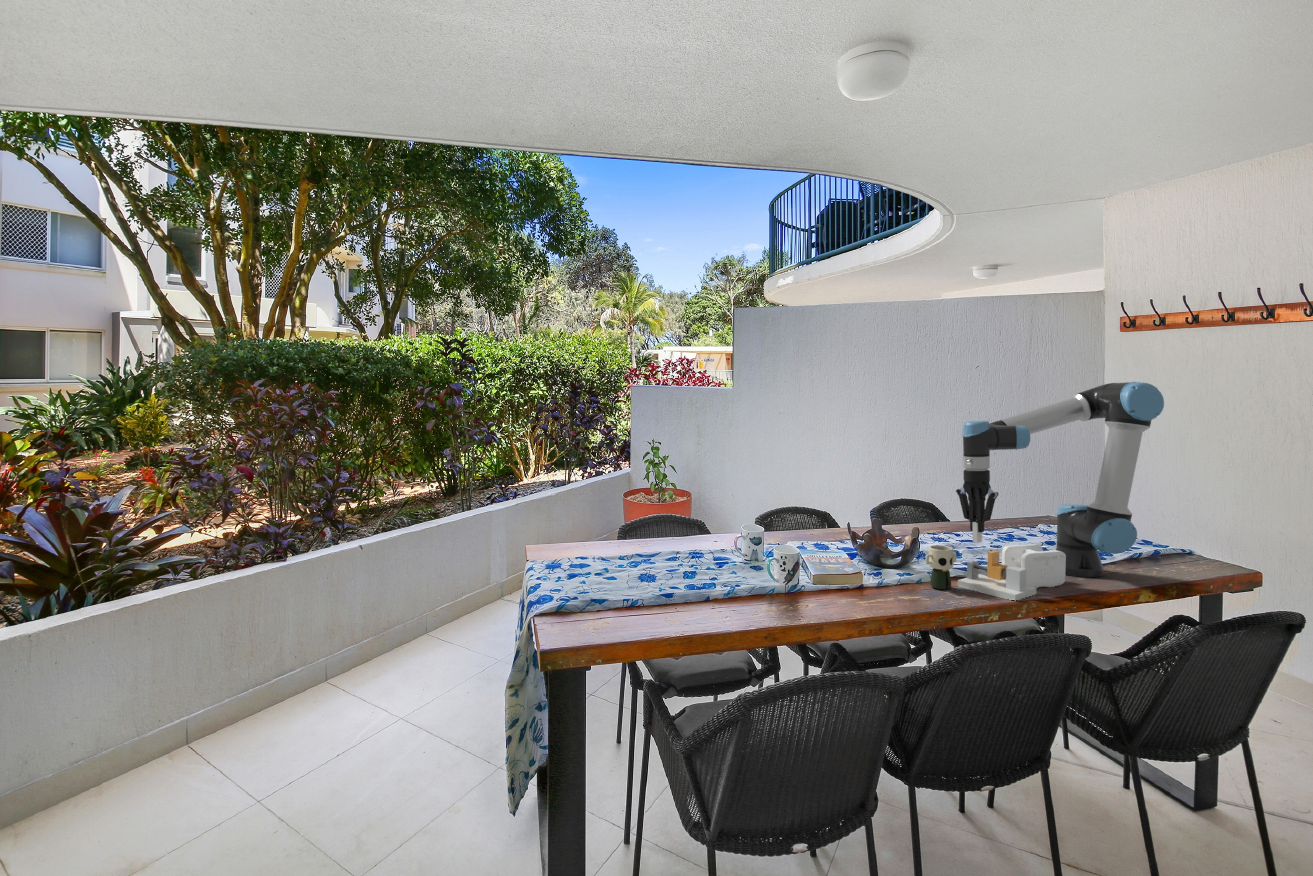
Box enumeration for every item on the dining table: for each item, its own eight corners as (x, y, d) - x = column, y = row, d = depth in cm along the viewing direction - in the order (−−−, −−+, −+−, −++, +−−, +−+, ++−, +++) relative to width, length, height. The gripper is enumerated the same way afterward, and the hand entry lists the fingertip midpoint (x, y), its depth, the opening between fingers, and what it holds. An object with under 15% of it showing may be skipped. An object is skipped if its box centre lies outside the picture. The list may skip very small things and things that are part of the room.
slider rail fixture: (979, 580, 205) (979, 555, 205) (1036, 594, 190) (1037, 567, 189) (957, 586, 199) (958, 561, 198) (1015, 601, 184) (1015, 574, 183)
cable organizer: (1040, 577, 207) (1041, 543, 206) (1066, 587, 196) (1067, 551, 196) (1000, 580, 204) (1001, 546, 203) (1025, 590, 194) (1026, 553, 193)
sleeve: (994, 575, 197) (994, 550, 196) (1007, 578, 193) (1007, 552, 193) (987, 577, 195) (987, 552, 194) (1000, 580, 191) (1000, 554, 191)
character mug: (933, 592, 193) (933, 551, 192) (918, 586, 200) (918, 546, 199) (963, 589, 195) (963, 549, 194) (947, 583, 202) (948, 543, 201)
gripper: (950, 468, 202) (951, 540, 204) (990, 472, 192) (990, 547, 193) (963, 466, 207) (964, 536, 208) (1003, 469, 196) (1003, 543, 197)
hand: (977, 541), depth 201 cm, fingers closed
